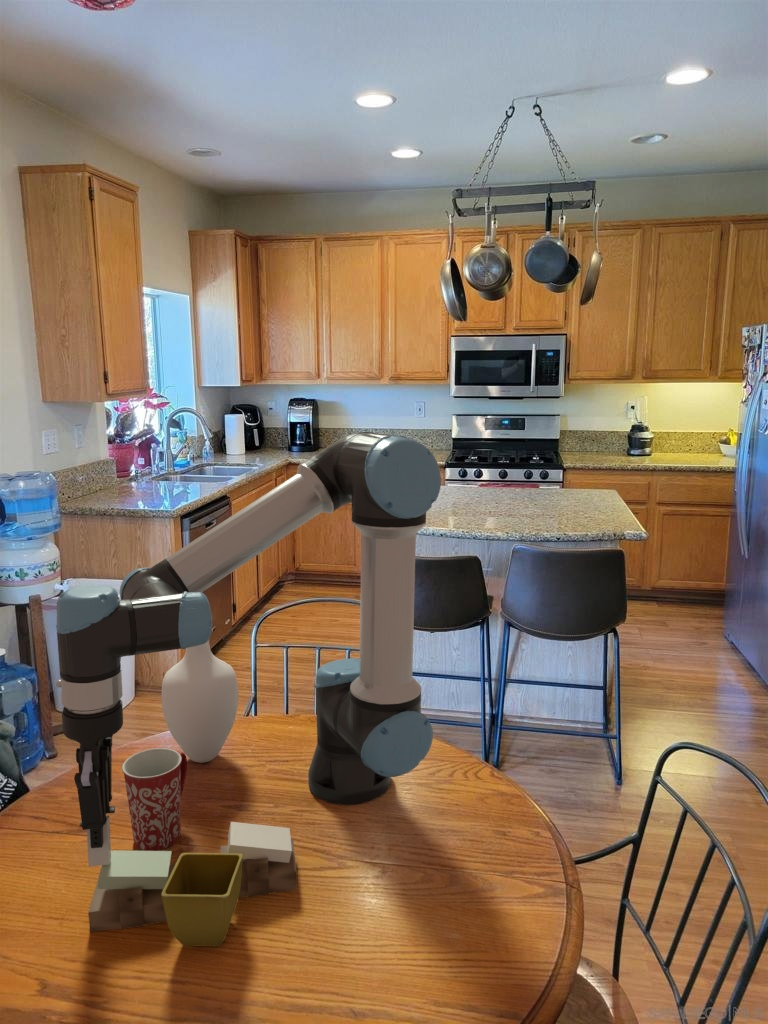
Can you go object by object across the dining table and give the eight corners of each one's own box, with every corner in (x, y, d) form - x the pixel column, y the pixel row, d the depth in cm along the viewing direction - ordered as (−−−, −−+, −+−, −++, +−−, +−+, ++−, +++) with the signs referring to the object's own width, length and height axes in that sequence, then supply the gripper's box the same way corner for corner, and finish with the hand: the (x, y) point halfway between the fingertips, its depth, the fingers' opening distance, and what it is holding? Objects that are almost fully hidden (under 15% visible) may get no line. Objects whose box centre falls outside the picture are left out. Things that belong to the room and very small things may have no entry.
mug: (162, 861, 112) (156, 781, 110) (115, 848, 116) (109, 770, 113) (210, 816, 124) (206, 743, 121) (166, 805, 127) (162, 733, 125)
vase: (172, 742, 149) (164, 611, 144) (243, 738, 151) (238, 608, 146) (159, 780, 135) (149, 636, 130) (237, 775, 137) (231, 633, 131)
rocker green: (170, 862, 106) (171, 851, 105) (166, 889, 100) (167, 876, 100) (105, 862, 104) (106, 850, 104) (97, 889, 98) (98, 876, 98)
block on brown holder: (293, 854, 114) (292, 824, 113) (297, 890, 106) (296, 858, 105) (221, 862, 112) (220, 832, 111) (219, 900, 104) (218, 868, 103)
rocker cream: (286, 839, 112) (289, 828, 111) (289, 862, 106) (291, 851, 106) (228, 833, 110) (230, 821, 109) (227, 856, 104) (230, 844, 104)
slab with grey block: (179, 880, 108) (177, 849, 107) (174, 921, 100) (172, 888, 99) (101, 890, 106) (99, 858, 105) (89, 933, 98) (86, 898, 97)
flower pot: (184, 908, 102) (181, 851, 101) (246, 909, 102) (243, 852, 100) (164, 957, 94) (159, 895, 92) (231, 959, 93) (228, 897, 92)
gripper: (73, 684, 102) (81, 836, 106) (49, 726, 90) (59, 897, 94) (129, 681, 104) (135, 831, 108) (113, 723, 91) (120, 891, 95)
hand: (100, 862), depth 101 cm, fingers closed
